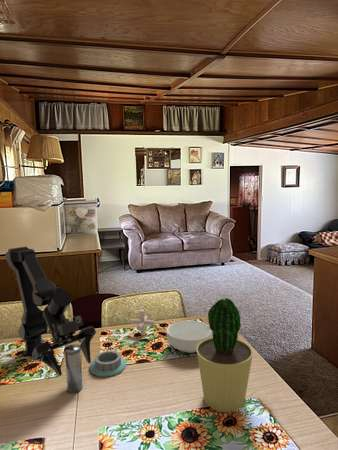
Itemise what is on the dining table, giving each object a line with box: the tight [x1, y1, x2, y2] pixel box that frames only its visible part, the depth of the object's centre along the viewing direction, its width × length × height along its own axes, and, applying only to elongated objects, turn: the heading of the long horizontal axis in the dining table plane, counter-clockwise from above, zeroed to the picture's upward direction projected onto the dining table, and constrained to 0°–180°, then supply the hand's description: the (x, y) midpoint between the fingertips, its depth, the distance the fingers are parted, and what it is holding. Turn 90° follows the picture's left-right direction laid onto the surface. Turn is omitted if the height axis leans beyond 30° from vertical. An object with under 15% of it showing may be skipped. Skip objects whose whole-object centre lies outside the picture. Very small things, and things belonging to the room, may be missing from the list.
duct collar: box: [89, 350, 127, 378], centre depth 112 cm, size 12×12×3 cm
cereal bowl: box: [165, 320, 213, 354], centre depth 123 cm, size 17×17×7 cm
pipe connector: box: [129, 309, 156, 336], centre depth 134 cm, size 10×10×10 cm
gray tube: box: [63, 343, 83, 395], centre depth 99 cm, size 5×5×13 cm
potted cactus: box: [196, 297, 254, 413], centre depth 92 cm, size 15×15×30 cm
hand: (75, 368), depth 98 cm, fingers open, 9 cm apart
